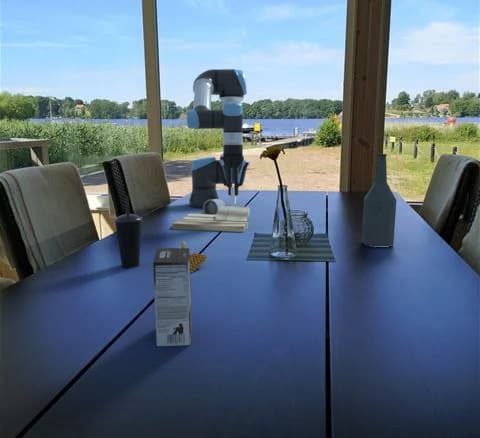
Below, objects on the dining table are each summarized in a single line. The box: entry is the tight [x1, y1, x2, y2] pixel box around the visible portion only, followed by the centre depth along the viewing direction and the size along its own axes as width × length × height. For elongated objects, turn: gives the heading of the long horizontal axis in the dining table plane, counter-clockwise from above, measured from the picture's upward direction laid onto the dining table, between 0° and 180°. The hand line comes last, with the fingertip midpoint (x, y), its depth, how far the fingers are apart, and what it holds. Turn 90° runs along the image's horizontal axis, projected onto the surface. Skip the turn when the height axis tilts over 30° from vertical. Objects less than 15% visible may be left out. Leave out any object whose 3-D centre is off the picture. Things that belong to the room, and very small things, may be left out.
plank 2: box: [215, 205, 251, 221], centre depth 182 cm, size 9×12×2 cm
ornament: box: [180, 241, 207, 274], centre depth 129 cm, size 7×10×15 cm
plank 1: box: [182, 213, 216, 220], centre depth 185 cm, size 9×12×2 cm
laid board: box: [171, 218, 249, 233], centre depth 175 cm, size 9×28×2 cm, turn 79°
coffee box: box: [152, 247, 192, 347], centre depth 85 cm, size 9×6×16 cm
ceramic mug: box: [200, 198, 226, 215], centre depth 198 cm, size 11×8×8 cm
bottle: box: [361, 153, 397, 246], centre depth 148 cm, size 10×10×30 cm
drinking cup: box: [113, 195, 143, 269], centre depth 127 cm, size 8×8×20 cm
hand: (233, 203), depth 181 cm, fingers closed
